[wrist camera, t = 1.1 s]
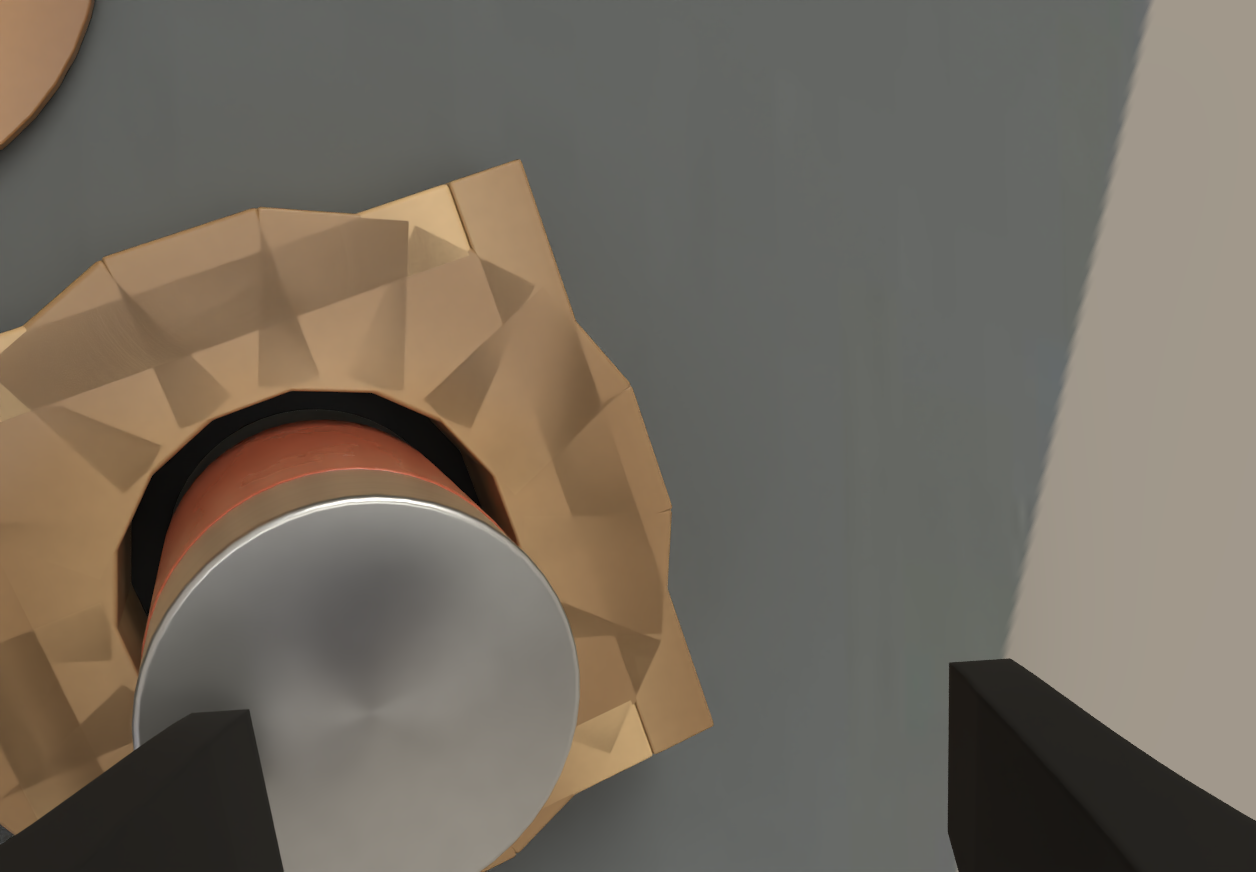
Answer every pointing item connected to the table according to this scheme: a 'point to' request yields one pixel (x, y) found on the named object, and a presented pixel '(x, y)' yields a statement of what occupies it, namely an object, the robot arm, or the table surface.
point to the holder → (326, 362)
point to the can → (362, 646)
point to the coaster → (36, 56)
